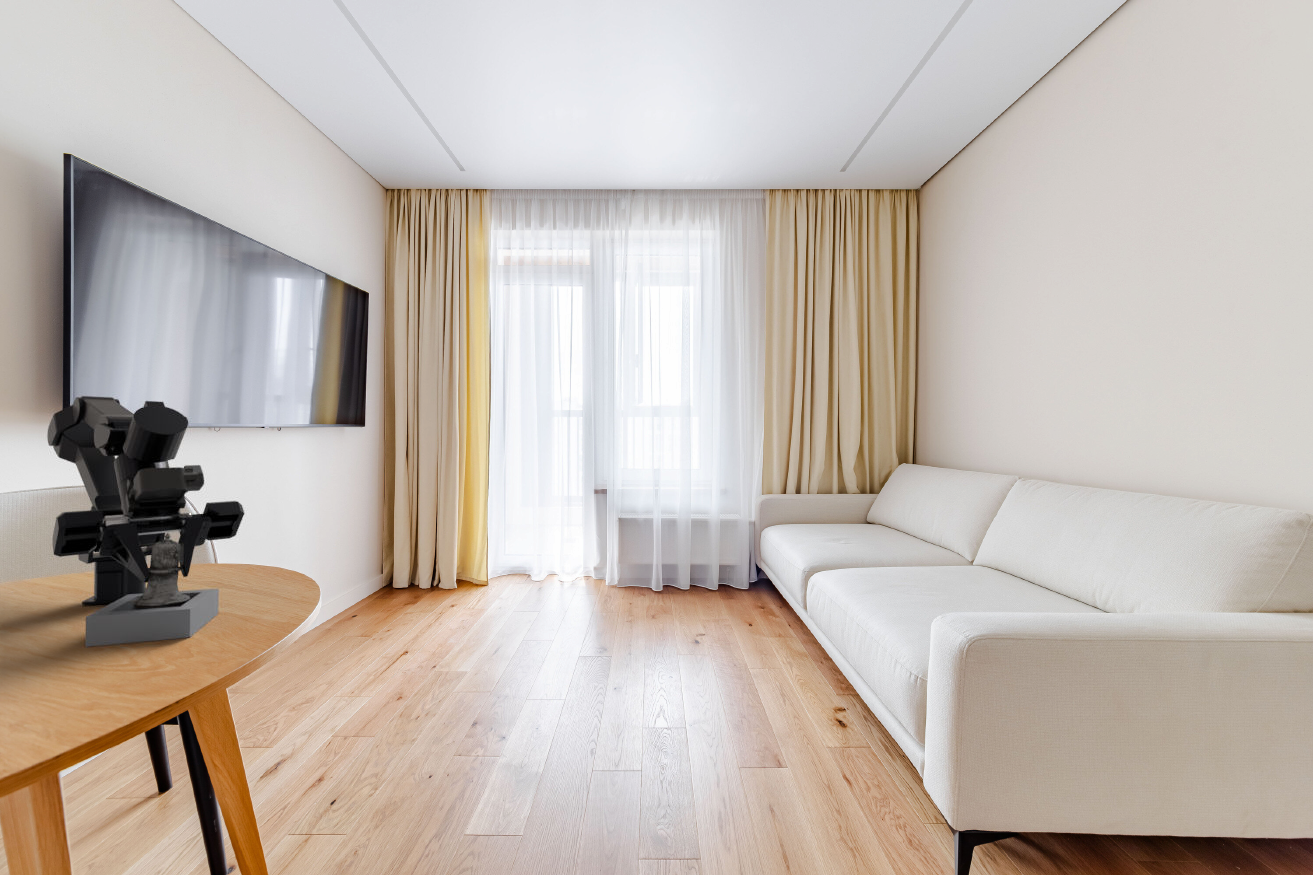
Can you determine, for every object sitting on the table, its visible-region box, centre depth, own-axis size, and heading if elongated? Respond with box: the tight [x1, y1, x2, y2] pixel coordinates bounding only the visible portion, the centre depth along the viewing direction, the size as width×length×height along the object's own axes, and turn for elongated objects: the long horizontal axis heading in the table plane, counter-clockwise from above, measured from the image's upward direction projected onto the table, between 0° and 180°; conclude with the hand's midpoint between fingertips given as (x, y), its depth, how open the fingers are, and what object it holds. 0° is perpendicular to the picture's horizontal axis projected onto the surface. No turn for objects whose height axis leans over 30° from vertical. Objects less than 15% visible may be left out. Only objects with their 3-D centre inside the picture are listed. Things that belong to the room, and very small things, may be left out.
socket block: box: [85, 588, 220, 648], centre depth 74 cm, size 10×10×4 cm
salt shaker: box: [130, 532, 190, 610], centre depth 74 cm, size 6×6×12 cm
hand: (166, 577), depth 73 cm, fingers closed on salt shaker, 4 cm apart
